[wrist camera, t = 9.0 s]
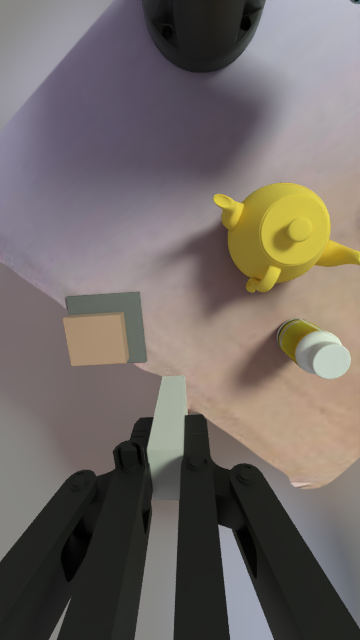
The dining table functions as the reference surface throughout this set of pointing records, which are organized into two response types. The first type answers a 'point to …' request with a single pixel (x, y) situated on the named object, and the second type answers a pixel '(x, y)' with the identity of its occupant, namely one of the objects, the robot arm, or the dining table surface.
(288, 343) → the pill bottle
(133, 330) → the mat
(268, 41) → the dining table surface
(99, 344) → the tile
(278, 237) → the teapot
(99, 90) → the dining table surface
